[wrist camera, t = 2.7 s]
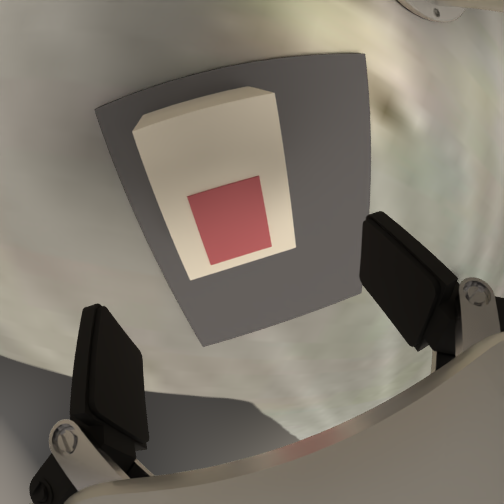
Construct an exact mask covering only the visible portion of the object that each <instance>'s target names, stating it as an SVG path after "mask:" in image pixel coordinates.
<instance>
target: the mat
mask: <svg viewBox="0 0 504 504" xmlns="http://www.w3.org/2000/svg"><path fill="white" fill-rule="evenodd" d="M246 86H250V87H254V88H258V89H262V90H266V91H269V92H273V93H275V98H276V104H277V110H278V116H279V122H280V128H281V135H282V142H283V148H284V155H285V162H286V169H287V177H288V184H289V192H290V200H291V208H292V216H293V225H294V234H295V243H296V248H293V249H290V250H287V251H284V252H280V253H277V254H274V255H271V256H268V257H264V258H261V259H258V260H255V261H252V262H248V263H245V264H242V265H239V266H236V267H232V268H229V269H226V270H223V271H219V272H216V273H213V274H210V275H206V276H203V277H200V278H197V279H193V280H190V279H189V277H188V274H187V272H186V270H185V268H184V265H183V263H182V261H181V258H180V256H179V254H178V251H177V249H176V247H175V244H174V242H173V239H172V237H171V235H170V232H169V230H168V227H167V225H166V222H165V220H164V217H163V215H162V212H161V210H160V207H159V205H158V202H157V200H156V197H155V194H154V192H153V189H152V186H151V184H150V181H149V178H148V176H147V173H146V170H145V167H144V165H143V162H142V159H141V156H140V153H139V151H138V148H137V145H136V142H135V139H134V136H133V133H132V131H133V130H134V128H135V126H136V125H137V123H138V122H139V120H140V119H141V117H142V116H143V115H144V114H147V113H150V112H153V111H156V110H159V109H162V108H165V107H168V106H171V105H175V104H178V103H181V102H185V101H188V100H192V99H195V98H199V97H203V96H207V95H211V94H215V93H219V92H223V91H227V90H232V89H236V88H241V87H246ZM95 113H96V116H97V119H98V122H99V124H100V127H101V130H102V133H103V136H104V139H105V141H106V144H107V147H108V150H109V152H110V155H111V158H112V160H113V163H114V165H115V168H116V170H117V173H118V175H119V178H120V180H121V183H122V185H123V188H124V190H125V193H126V195H127V197H128V200H129V202H130V204H131V207H132V209H133V211H134V214H135V216H136V218H137V220H138V222H139V225H140V227H141V229H142V231H143V233H144V236H145V238H146V240H147V242H148V244H149V246H150V248H151V250H152V252H153V255H154V257H155V259H156V261H157V263H158V265H159V267H160V269H161V271H162V273H163V275H164V277H165V279H166V281H167V283H168V285H169V286H170V288H171V290H172V292H173V294H174V296H175V298H176V300H177V302H178V303H179V305H180V307H181V309H182V311H183V313H184V314H185V316H186V318H187V320H188V322H189V323H190V325H191V327H192V329H193V331H194V332H195V334H196V336H197V337H198V339H199V341H200V343H201V344H202V346H203V347H205V346H208V345H212V344H215V343H219V342H222V341H225V340H229V339H232V338H235V337H239V336H242V335H245V334H248V333H252V332H255V331H258V330H261V329H264V328H267V327H270V326H273V325H276V324H279V323H282V322H285V321H288V320H291V319H294V318H296V317H299V316H302V315H305V314H308V313H310V312H313V311H316V310H319V309H321V308H324V307H327V306H329V305H332V304H335V303H337V302H340V301H342V300H345V299H347V298H350V297H353V296H355V295H358V294H360V293H361V292H362V283H361V281H360V278H359V272H360V259H361V245H362V226H363V221H365V219H366V216H367V215H369V206H370V181H371V131H370V106H369V90H368V78H367V67H366V58H365V54H361V53H345V54H319V55H305V56H294V57H284V58H276V59H269V60H262V61H255V62H249V63H244V64H238V65H233V66H228V67H223V68H219V69H214V70H210V71H206V72H202V73H198V74H194V75H190V76H186V77H183V78H179V79H176V80H172V81H169V82H166V83H163V84H160V85H157V86H153V87H151V88H148V89H145V90H142V91H139V92H136V93H134V94H131V95H128V96H126V97H123V98H120V99H118V100H115V101H113V102H111V103H108V104H106V105H104V106H101V107H99V108H97V109H95Z"/></svg>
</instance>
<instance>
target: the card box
mask: <svg viewBox="0 0 504 504" xmlns="http://www.w3.org/2000/svg"><path fill="white" fill-rule="evenodd" d="M132 133H133V136H134V139H135V142H136V145H137V148H138V151H139V153H140V156H141V159H142V162H143V165H144V167H145V170H146V173H147V176H148V178H149V181H150V184H151V186H152V189H153V192H154V194H155V197H156V200H157V202H158V205H159V207H160V210H161V212H162V215H163V217H164V220H165V222H166V225H167V227H168V230H169V232H170V235H171V237H172V239H173V242H174V244H175V247H176V249H177V251H178V254H179V256H180V258H181V261H182V263H183V265H184V268H185V270H186V272H187V274H188V277H189V279H190V280H193V279H197V278H200V277H203V276H206V275H210V274H213V273H216V272H219V271H223V270H226V269H229V268H232V267H236V266H239V265H242V264H245V263H248V262H252V261H255V260H258V259H261V258H264V257H268V256H271V255H274V254H277V253H280V252H284V251H287V250H290V249H293V248H296V243H295V234H294V225H293V216H292V208H291V200H290V192H289V184H288V177H287V169H286V162H285V155H284V148H283V142H282V135H281V128H280V122H279V116H278V110H277V104H276V98H275V93H273V92H269V91H266V90H262V89H258V88H254V87H250V86H246V87H241V88H236V89H232V90H227V91H223V92H219V93H215V94H211V95H207V96H203V97H199V98H195V99H192V100H188V101H185V102H181V103H178V104H175V105H171V106H168V107H165V108H162V109H159V110H156V111H153V112H150V113H147V114H144V115H143V116H142V117H141V119H140V120H139V122H138V123H137V125H136V126H135V128H134V130H133V131H132Z"/></svg>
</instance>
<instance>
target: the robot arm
mask: <svg viewBox="0 0 504 504" xmlns="http://www.w3.org/2000/svg"><path fill="white" fill-rule="evenodd" d="M398 1H399V2H400V3H401V4H402V5H403V6H404V7H406V8H407V9H409V10H410V11H411V12H413V13H414V14H416V15H418V16H420V17H422V18H424V19H427V20H430V21H436V22H451V21H454V20H456V19H458V18H459V17H460V16H461V15H462V14H463V12H464V10H465V8H474V9H483V10H491V11H497V12H503V13H504V0H398ZM359 278H360V281H361V283H362V285H363V286H364V287H365V288H366V290H367V291H368V292H369V293H370V295H371V296H372V297H373V299H374V300H375V301H376V302H377V304H378V305H379V306H380V307H381V309H382V310H383V311H384V313H385V314H386V315H387V316H388V318H389V319H390V320H391V322H392V323H393V324H394V326H395V327H396V328H397V330H398V331H399V332H400V334H401V335H402V336H403V338H404V339H405V340H406V342H407V343H408V344H409V345H410V346H412V347H413V346H414V347H415V349H416V350H417V351H420V350H422V349H423V348H425V347H426V346H428V345H430V347H431V348H432V349H433V350H432V365H431V374H430V375H429V376H427V377H426V378H424V379H423V380H421V381H419V382H418V383H416V384H415V385H413V386H411V387H410V388H408V389H407V390H405V391H403V392H401V393H400V394H398V395H396V396H395V397H393V398H391V399H389V400H387V401H386V402H384V403H382V404H380V405H378V406H376V407H374V408H373V409H371V410H369V411H367V412H365V413H363V414H361V415H359V416H357V417H355V418H352V419H350V420H348V421H346V422H344V423H342V424H339V425H337V426H335V427H333V428H330V429H328V430H326V431H323V432H321V433H318V434H316V435H314V436H311V437H308V438H306V439H303V440H301V441H298V442H295V443H293V444H290V445H287V446H284V447H281V448H278V449H275V450H272V451H268V452H265V453H262V454H259V455H255V456H252V457H248V458H245V459H241V460H237V461H234V462H229V463H225V464H221V465H216V466H212V467H207V468H202V469H197V470H191V471H185V472H179V473H173V474H166V475H159V476H154V475H153V474H152V473H151V472H150V471H149V470H147V469H146V467H144V466H143V465H142V464H141V463H140V462H139V461H138V460H137V459H136V453H135V451H138V450H146V449H147V446H146V442H148V441H149V432H148V425H147V424H148V423H147V414H146V404H145V392H144V378H143V359H142V355H141V352H140V350H139V349H138V348H137V347H136V345H135V344H134V343H133V342H132V340H131V339H130V338H129V337H128V335H127V334H126V333H125V331H124V330H123V329H122V328H121V326H120V325H119V324H118V322H117V321H116V320H115V318H114V317H113V316H112V314H111V313H110V312H109V310H108V309H107V308H106V307H105V306H101V305H100V304H94V305H91V306H88V307H85V308H84V309H83V311H82V317H81V322H80V327H79V333H78V339H77V346H76V353H75V360H74V368H73V378H72V388H71V401H70V420H68V419H65V420H61V421H59V422H57V423H56V424H55V425H54V426H53V428H52V430H51V432H50V435H49V446H50V449H51V452H52V453H51V455H50V456H49V458H48V459H47V460H46V461H45V463H44V464H43V465H42V467H41V468H40V469H39V471H38V472H37V473H36V475H35V476H34V477H33V479H32V481H31V483H30V496H31V499H32V501H33V503H30V504H504V298H500V297H496V296H495V295H494V292H493V290H492V289H491V287H490V286H489V285H488V284H487V283H486V282H485V281H483V280H481V279H478V278H466V279H464V280H463V281H462V282H461V284H459V283H458V282H457V280H458V278H457V277H456V276H455V275H454V274H453V273H452V272H451V271H450V270H449V269H448V268H447V267H446V266H445V265H444V264H443V263H442V262H441V261H440V260H439V259H437V258H436V257H435V256H434V255H433V254H432V253H431V252H430V251H429V250H428V249H426V248H425V247H424V246H423V245H422V244H421V243H420V242H419V241H417V240H416V239H415V238H414V237H413V236H412V235H410V234H409V233H408V232H407V231H406V230H405V229H403V228H402V227H401V226H400V225H399V224H397V223H396V222H395V221H394V220H393V219H391V218H390V217H389V216H388V215H386V214H385V213H384V212H382V211H379V212H376V213H373V214H370V215H367V216H366V219H365V221H363V226H362V245H361V259H360V272H359Z"/></svg>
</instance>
